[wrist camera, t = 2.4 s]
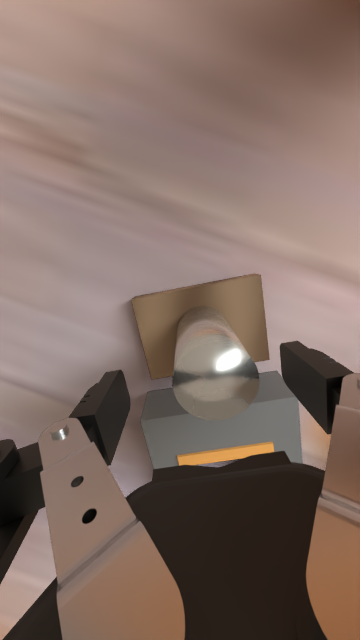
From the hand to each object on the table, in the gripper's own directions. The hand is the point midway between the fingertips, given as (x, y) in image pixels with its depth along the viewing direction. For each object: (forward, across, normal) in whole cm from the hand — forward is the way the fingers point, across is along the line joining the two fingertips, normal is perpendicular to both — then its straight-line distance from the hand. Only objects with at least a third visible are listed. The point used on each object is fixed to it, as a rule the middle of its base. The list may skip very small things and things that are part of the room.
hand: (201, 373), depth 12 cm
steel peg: (+7, -1, 0) cm, 7 cm away
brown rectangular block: (+8, -1, 0) cm, 9 cm away
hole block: (+9, -1, +13) cm, 16 cm away
